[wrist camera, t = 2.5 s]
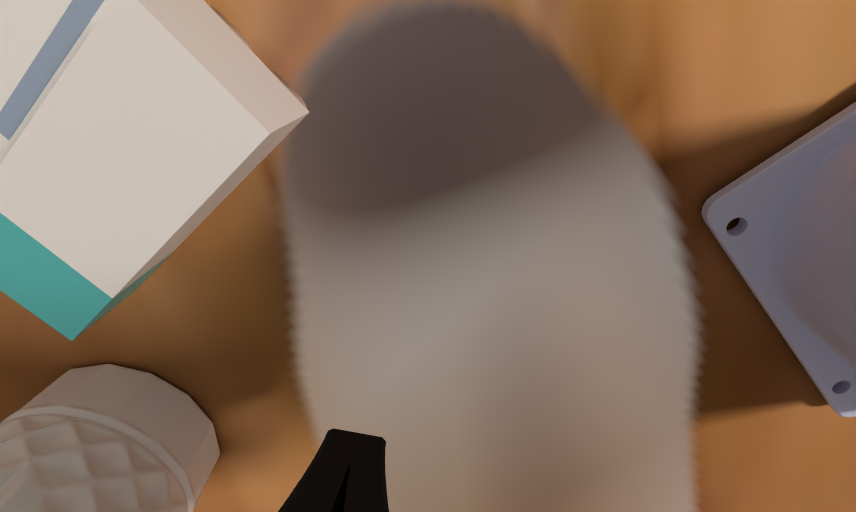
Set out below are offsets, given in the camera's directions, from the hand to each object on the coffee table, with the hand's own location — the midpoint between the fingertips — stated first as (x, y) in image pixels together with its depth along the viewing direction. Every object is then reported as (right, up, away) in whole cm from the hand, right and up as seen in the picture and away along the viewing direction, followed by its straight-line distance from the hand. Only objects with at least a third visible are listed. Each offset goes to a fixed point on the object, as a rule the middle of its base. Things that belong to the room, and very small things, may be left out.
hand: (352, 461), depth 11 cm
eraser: (-5, +8, +2) cm, 10 cm away
